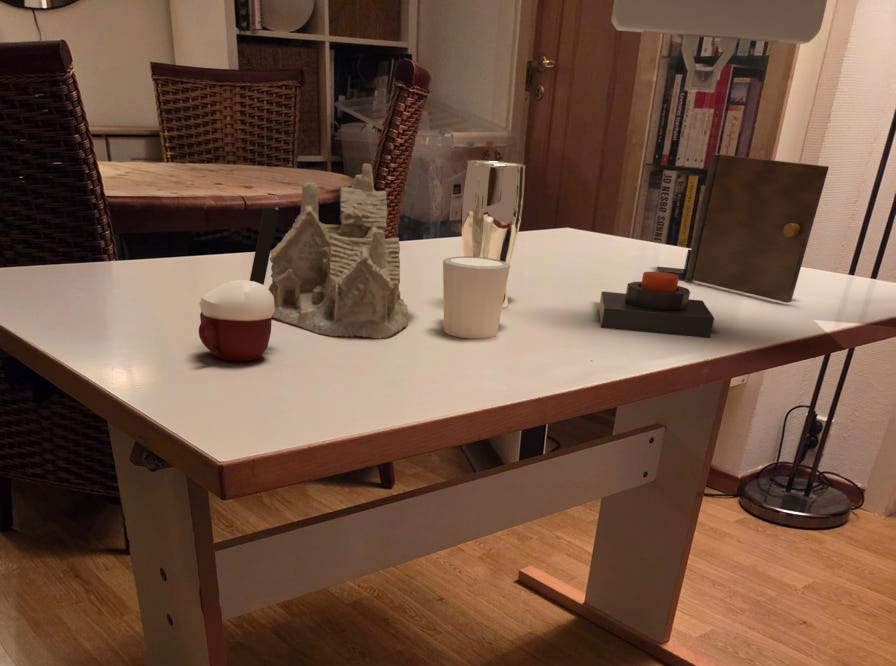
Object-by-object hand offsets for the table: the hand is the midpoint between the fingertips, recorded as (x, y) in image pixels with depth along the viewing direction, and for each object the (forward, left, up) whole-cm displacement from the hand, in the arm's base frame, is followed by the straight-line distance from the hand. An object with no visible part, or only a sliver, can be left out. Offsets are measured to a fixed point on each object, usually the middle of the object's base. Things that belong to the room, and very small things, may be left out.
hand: (699, 91), depth 89 cm
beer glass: (+20, -1, -23) cm, 31 cm away
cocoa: (+39, +32, -23) cm, 56 cm away
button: (0, +1, -19) cm, 19 cm away
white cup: (+20, +14, -23) cm, 34 cm away
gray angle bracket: (-6, -34, -23) cm, 41 cm away
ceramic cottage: (+35, +14, -23) cm, 44 cm away
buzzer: (0, +1, -23) cm, 23 cm away
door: (-13, -25, -23) cm, 36 cm away
